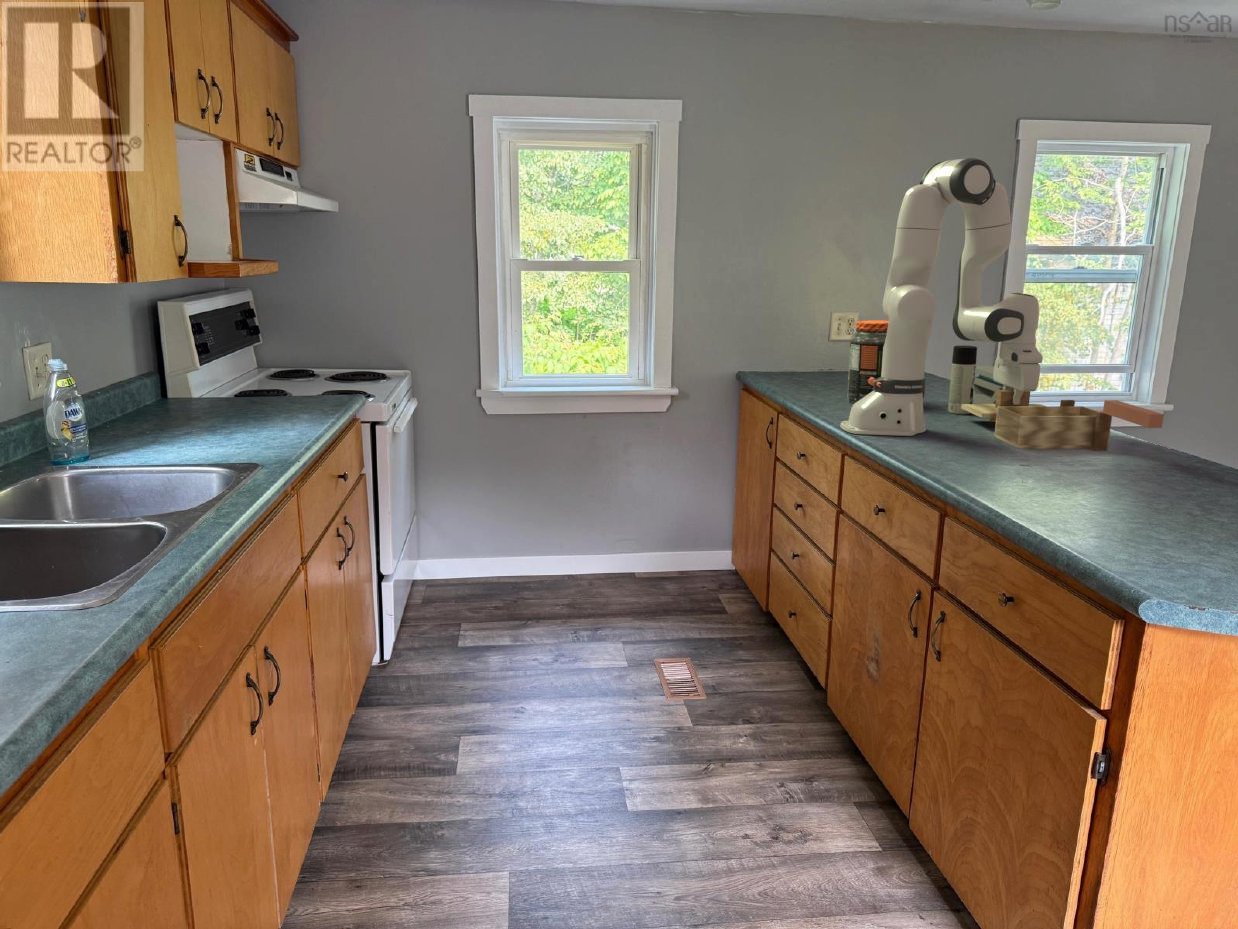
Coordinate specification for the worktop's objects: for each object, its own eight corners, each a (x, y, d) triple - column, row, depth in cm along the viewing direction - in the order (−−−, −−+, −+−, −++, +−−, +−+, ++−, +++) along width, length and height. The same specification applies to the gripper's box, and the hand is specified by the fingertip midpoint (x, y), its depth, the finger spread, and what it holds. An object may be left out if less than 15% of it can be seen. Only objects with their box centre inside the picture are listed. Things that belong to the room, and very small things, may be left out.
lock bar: (1148, 427, 185) (1150, 414, 185) (1102, 412, 203) (1104, 400, 202) (1161, 427, 185) (1163, 414, 185) (1115, 412, 203) (1117, 400, 202)
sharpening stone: (1024, 413, 255) (1028, 377, 252) (998, 413, 255) (1002, 377, 252) (990, 399, 279) (993, 366, 276) (966, 399, 279) (969, 366, 276)
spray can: (973, 415, 252) (980, 347, 247) (949, 414, 253) (955, 347, 248) (969, 411, 258) (975, 345, 253) (945, 410, 259) (951, 344, 254)
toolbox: (1022, 450, 207) (1027, 413, 204) (990, 434, 225) (994, 400, 222) (1113, 450, 207) (1118, 412, 204) (1073, 434, 225) (1078, 399, 222)
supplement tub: (891, 398, 281) (897, 319, 274) (902, 406, 266) (908, 323, 259) (842, 397, 282) (847, 319, 276) (850, 406, 267) (855, 323, 261)
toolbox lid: (981, 423, 230) (983, 395, 229) (960, 413, 244) (963, 386, 243) (1063, 422, 230) (1067, 394, 228) (1038, 412, 244) (1041, 386, 242)
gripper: (989, 348, 243) (985, 396, 246) (1022, 357, 223) (1016, 409, 227) (1011, 348, 243) (1006, 396, 246) (1046, 357, 223) (1040, 409, 227)
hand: (1011, 402), depth 236 cm, fingers closed on toolbox lid, 3 cm apart
